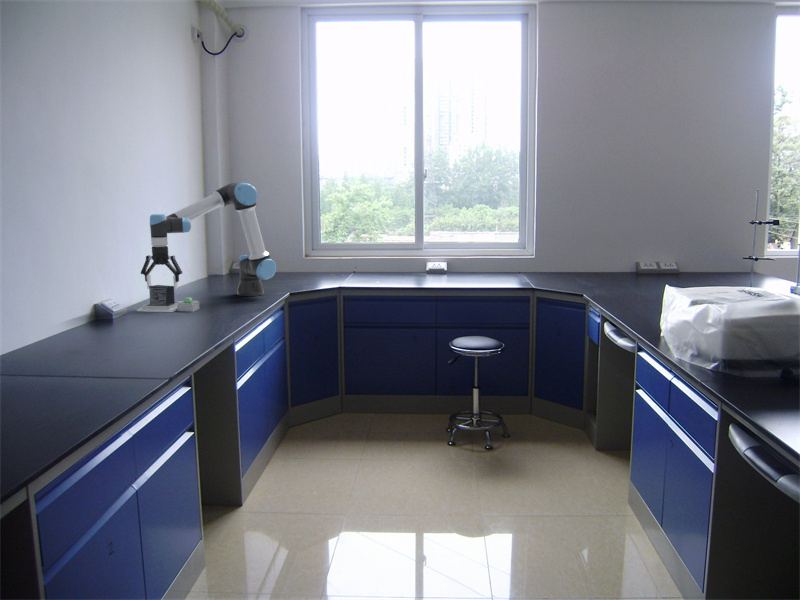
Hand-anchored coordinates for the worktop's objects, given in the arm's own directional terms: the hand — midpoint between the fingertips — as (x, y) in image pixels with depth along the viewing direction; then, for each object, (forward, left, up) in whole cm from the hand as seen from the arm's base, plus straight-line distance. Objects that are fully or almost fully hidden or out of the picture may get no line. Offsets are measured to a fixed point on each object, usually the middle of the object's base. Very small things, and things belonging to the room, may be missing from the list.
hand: (162, 288), depth 311 cm
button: (-14, +2, -8) cm, 16 cm away
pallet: (0, 0, -10) cm, 10 cm away
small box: (0, 0, -9) cm, 9 cm away
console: (-14, +2, -10) cm, 17 cm away
